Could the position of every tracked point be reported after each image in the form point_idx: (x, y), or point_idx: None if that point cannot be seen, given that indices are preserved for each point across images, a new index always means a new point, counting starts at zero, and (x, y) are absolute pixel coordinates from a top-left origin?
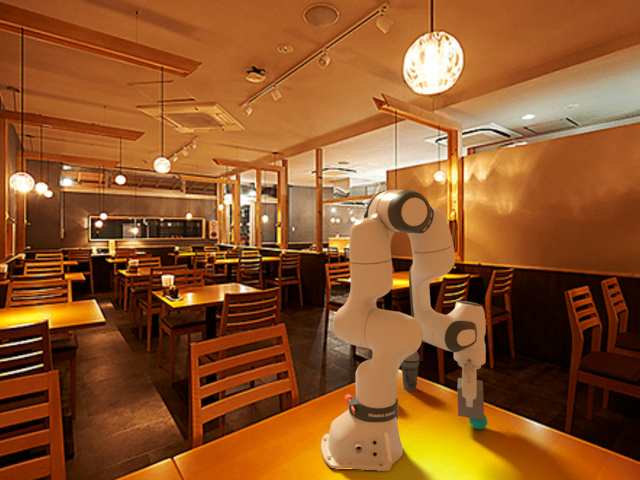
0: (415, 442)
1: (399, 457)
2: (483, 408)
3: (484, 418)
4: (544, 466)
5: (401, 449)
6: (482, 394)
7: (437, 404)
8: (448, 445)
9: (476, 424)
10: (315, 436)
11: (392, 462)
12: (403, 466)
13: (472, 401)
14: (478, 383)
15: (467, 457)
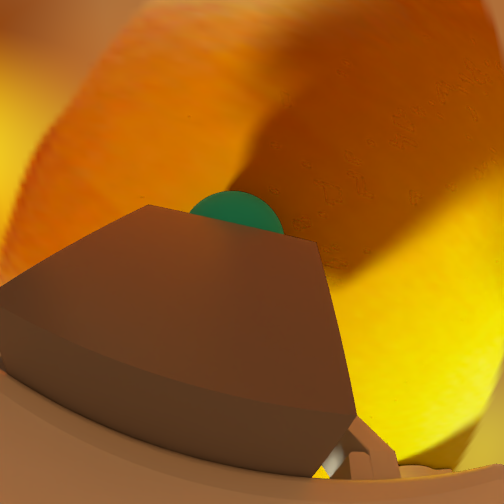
0: None
1: (423, 467)
2: (326, 280)
3: (259, 220)
4: (475, 50)
5: (407, 473)
6: (346, 381)
7: None
8: (385, 375)
9: None
10: None
11: (439, 473)
12: (445, 454)
13: None
14: (75, 386)
15: (452, 324)
